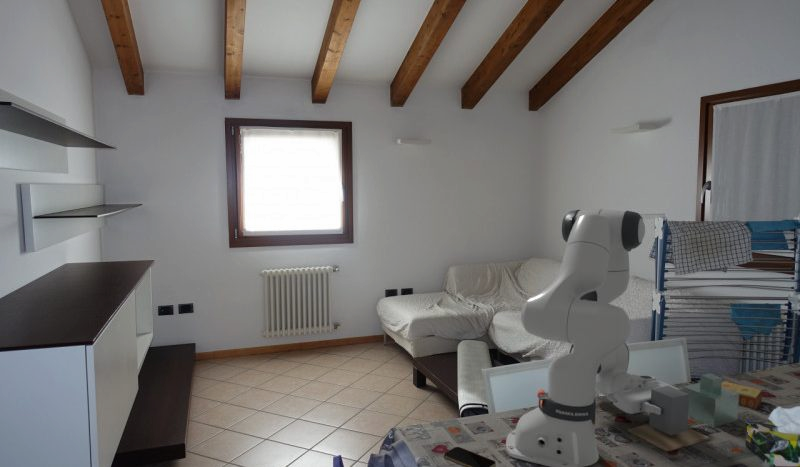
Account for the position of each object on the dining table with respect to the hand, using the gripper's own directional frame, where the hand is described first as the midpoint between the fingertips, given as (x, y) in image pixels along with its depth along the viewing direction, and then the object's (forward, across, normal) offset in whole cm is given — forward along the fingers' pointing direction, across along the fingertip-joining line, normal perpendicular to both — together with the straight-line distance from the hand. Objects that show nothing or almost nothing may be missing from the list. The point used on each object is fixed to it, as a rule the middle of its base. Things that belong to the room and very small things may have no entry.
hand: (672, 409), depth 138 cm
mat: (-1, 0, +8) cm, 8 cm away
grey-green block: (-4, +21, +8) cm, 23 cm away
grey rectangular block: (-1, 0, +6) cm, 6 cm away
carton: (-11, +40, +8) cm, 42 cm away
